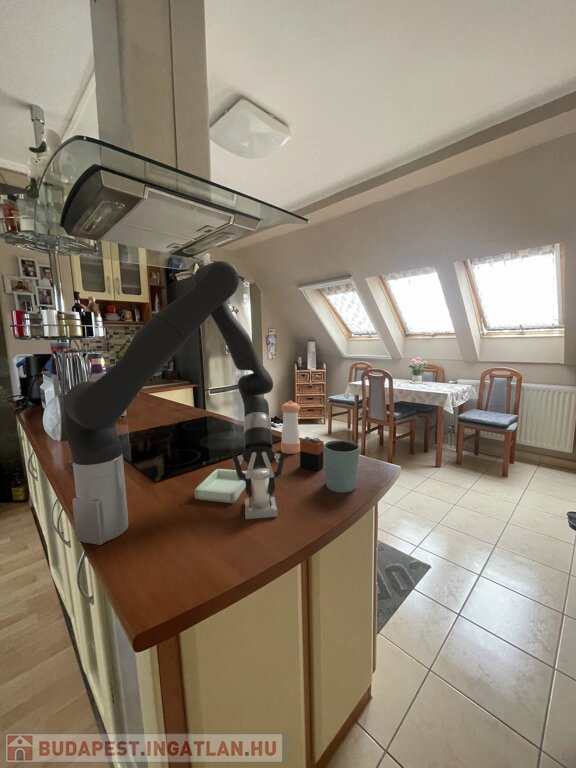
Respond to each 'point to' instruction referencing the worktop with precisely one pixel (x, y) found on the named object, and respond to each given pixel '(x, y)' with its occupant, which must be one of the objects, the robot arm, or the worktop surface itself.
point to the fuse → (260, 488)
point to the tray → (221, 486)
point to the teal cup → (341, 465)
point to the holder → (260, 511)
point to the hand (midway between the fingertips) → (260, 495)
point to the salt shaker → (290, 428)
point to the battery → (311, 453)
